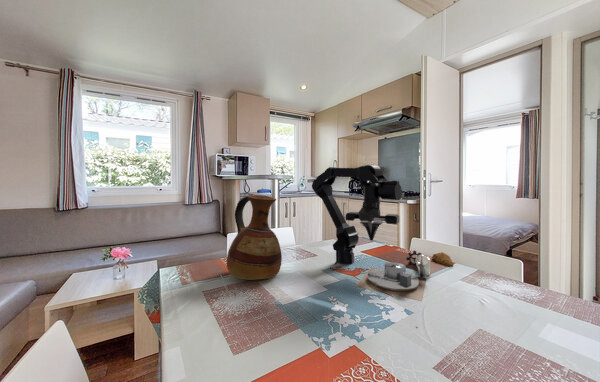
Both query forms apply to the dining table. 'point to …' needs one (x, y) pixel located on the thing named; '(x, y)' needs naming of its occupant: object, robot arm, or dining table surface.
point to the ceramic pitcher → (254, 242)
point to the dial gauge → (421, 266)
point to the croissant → (443, 259)
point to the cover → (394, 271)
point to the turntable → (405, 284)
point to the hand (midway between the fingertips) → (371, 240)
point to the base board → (413, 294)
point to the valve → (426, 269)
